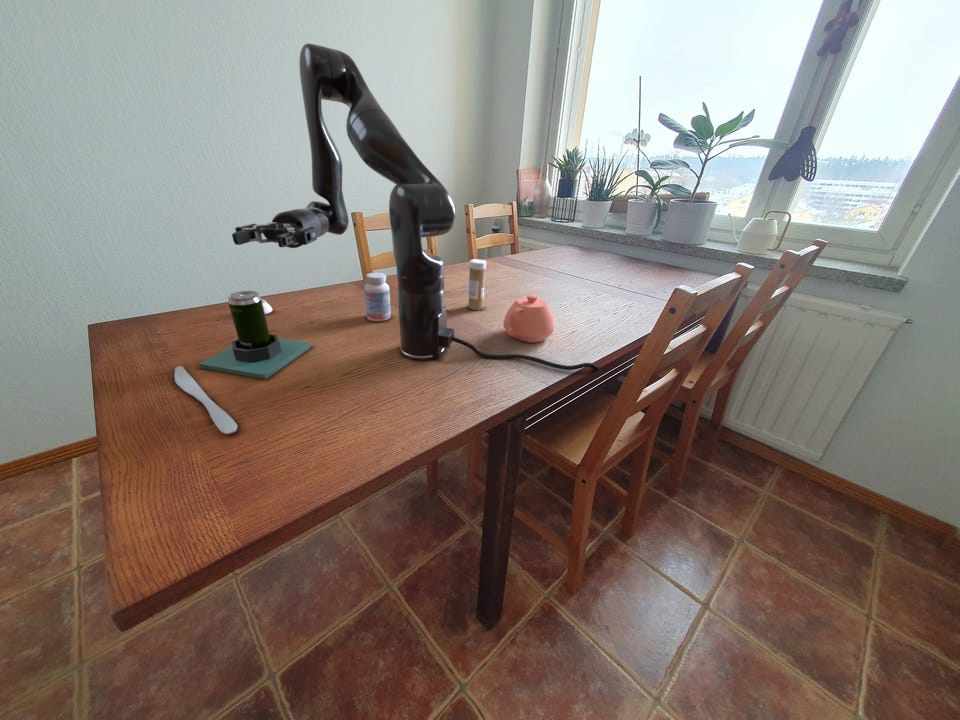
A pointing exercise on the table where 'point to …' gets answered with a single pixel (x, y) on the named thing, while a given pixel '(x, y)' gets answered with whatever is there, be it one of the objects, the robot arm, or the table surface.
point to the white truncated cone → (266, 307)
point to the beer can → (249, 319)
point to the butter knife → (205, 401)
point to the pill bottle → (377, 297)
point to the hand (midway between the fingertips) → (257, 240)
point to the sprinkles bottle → (476, 284)
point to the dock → (256, 367)
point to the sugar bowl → (529, 319)
